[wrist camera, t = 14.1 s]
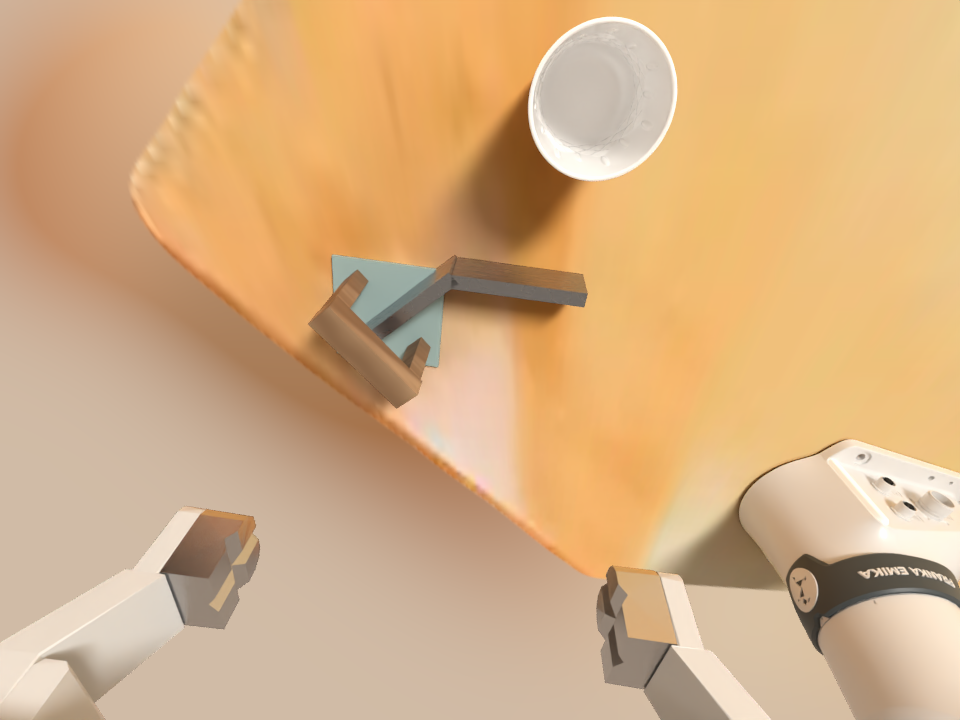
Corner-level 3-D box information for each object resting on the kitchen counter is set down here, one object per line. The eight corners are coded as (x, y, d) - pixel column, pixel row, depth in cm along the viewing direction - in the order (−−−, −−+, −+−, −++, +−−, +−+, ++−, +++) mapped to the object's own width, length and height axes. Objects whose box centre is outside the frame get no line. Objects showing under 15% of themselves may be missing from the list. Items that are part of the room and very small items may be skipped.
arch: (359, 267, 43) (329, 307, 36) (433, 345, 47) (417, 395, 40) (341, 282, 44) (307, 324, 37) (414, 358, 48) (396, 408, 41)
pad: (446, 270, 43) (445, 271, 43) (438, 365, 48) (438, 367, 48) (332, 254, 43) (331, 255, 43) (337, 351, 48) (336, 353, 48)
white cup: (655, 37, 33) (700, 31, 24) (620, 160, 37) (649, 191, 29) (539, 17, 33) (545, 4, 24) (518, 143, 37) (515, 169, 29)
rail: (583, 272, 42) (588, 291, 39) (562, 357, 47) (565, 381, 43) (364, 242, 42) (350, 259, 39) (366, 330, 47) (353, 351, 43)
